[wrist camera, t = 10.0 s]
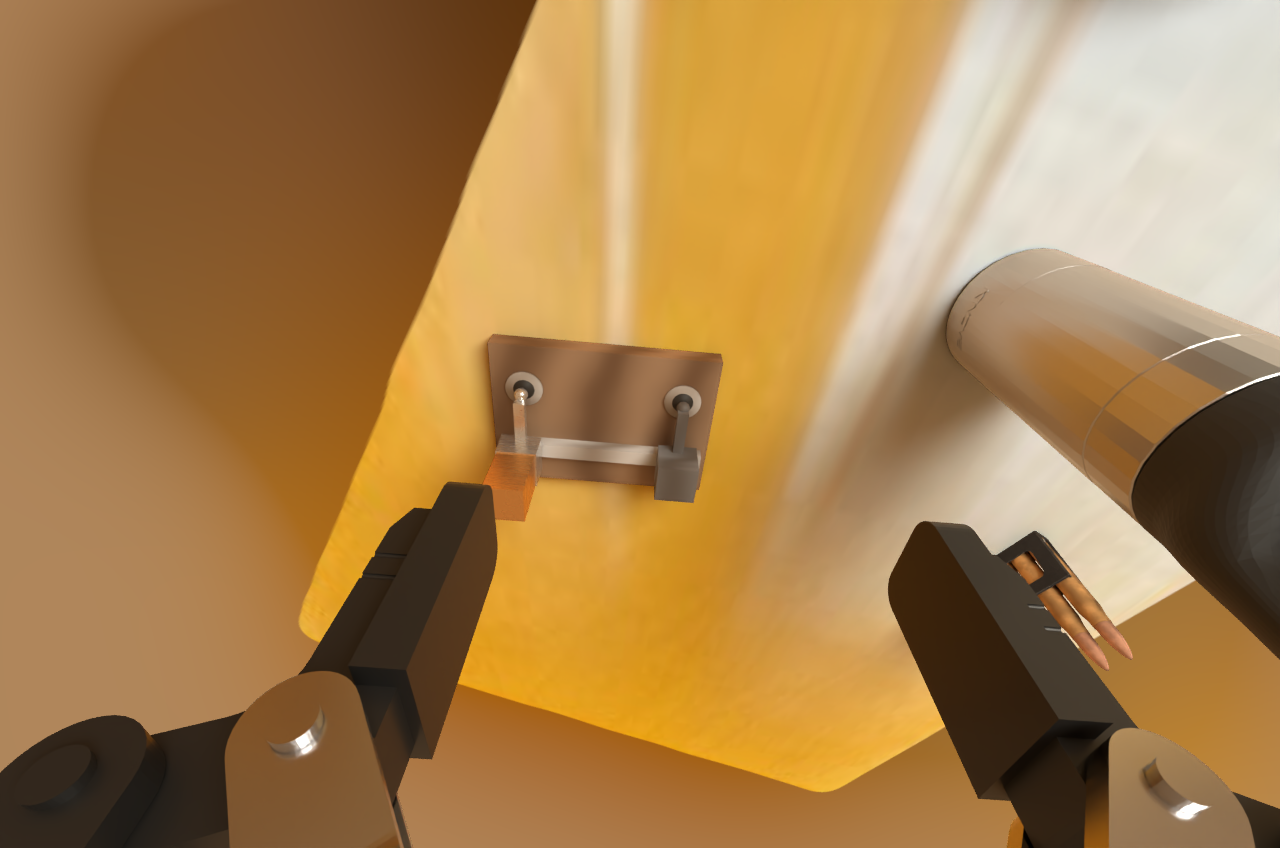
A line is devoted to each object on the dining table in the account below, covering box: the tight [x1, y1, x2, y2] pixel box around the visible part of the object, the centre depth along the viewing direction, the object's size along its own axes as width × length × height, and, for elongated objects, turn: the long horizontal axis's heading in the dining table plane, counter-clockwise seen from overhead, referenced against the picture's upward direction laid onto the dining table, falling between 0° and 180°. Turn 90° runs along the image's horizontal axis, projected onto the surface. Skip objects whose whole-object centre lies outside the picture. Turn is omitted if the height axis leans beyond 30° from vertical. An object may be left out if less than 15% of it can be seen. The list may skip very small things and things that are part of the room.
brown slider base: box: [488, 334, 723, 503], centre depth 39 cm, size 17×12×6 cm
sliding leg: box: [483, 388, 542, 522], centre depth 37 cm, size 3×7×7 cm, turn 175°
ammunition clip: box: [997, 531, 1133, 671], centre depth 45 cm, size 11×2×12 cm, turn 146°
